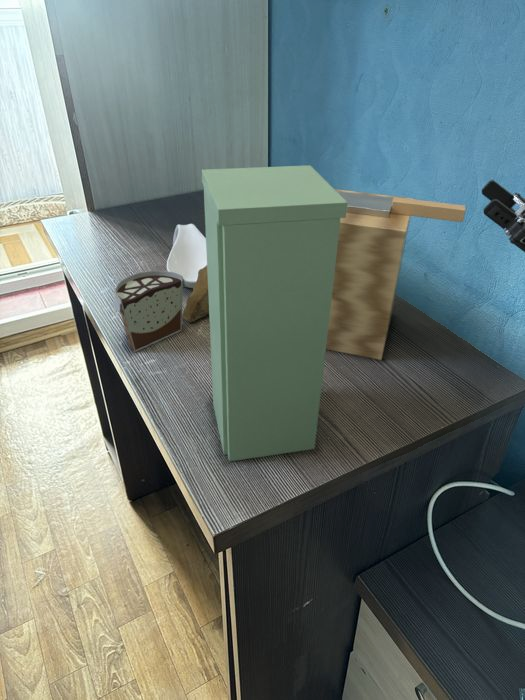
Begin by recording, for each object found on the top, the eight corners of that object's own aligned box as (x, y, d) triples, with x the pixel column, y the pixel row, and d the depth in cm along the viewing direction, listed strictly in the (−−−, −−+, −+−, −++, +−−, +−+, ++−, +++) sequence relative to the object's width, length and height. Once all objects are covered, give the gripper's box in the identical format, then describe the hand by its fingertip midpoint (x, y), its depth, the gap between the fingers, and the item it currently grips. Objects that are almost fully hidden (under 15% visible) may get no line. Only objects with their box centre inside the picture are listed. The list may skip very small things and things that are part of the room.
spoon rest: (235, 292, 99) (234, 258, 94) (173, 300, 96) (170, 265, 91) (208, 243, 117) (206, 212, 113) (155, 248, 114) (152, 217, 110)
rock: (187, 322, 85) (243, 304, 88) (170, 272, 85) (227, 256, 87) (181, 327, 96) (231, 311, 98) (166, 283, 96) (217, 268, 98)
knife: (462, 213, 76) (465, 200, 75) (462, 227, 71) (465, 215, 70) (309, 193, 81) (310, 182, 80) (299, 206, 76) (300, 194, 75)
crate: (391, 316, 93) (414, 198, 80) (381, 360, 82) (406, 231, 69) (304, 301, 97) (313, 186, 84) (284, 341, 86) (291, 215, 73)
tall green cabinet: (293, 389, 75) (310, 165, 57) (318, 448, 66) (347, 202, 47) (212, 399, 73) (201, 169, 55) (225, 462, 64) (218, 209, 45)
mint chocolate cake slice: (167, 313, 92) (162, 262, 86) (189, 327, 88) (185, 274, 83) (105, 340, 85) (95, 285, 79) (126, 356, 81) (117, 300, 75)
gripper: (591, 225, 75) (505, 158, 74) (614, 267, 64) (512, 188, 62) (548, 263, 80) (466, 199, 78) (562, 307, 68) (466, 234, 67)
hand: (487, 194), depth 70 cm, fingers open, 8 cm apart
